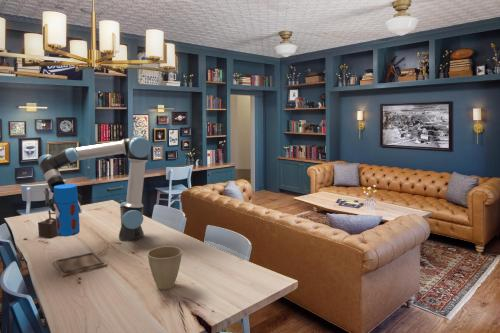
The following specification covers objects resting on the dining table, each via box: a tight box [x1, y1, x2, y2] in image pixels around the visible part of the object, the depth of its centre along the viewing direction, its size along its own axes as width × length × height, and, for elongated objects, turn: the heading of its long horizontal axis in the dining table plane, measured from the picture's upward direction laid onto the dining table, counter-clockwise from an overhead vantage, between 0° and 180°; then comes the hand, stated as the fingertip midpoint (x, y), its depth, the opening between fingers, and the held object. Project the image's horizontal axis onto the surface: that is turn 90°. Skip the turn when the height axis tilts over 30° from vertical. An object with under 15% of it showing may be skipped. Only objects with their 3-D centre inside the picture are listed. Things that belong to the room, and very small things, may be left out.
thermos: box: [53, 183, 81, 238], centre depth 192 cm, size 11×11×25 cm
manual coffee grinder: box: [37, 209, 59, 239], centre depth 242 cm, size 16×11×18 cm
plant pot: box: [147, 245, 183, 290], centre depth 166 cm, size 15×15×16 cm
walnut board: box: [52, 251, 108, 278], centre depth 192 cm, size 21×21×2 cm
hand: (69, 213), depth 191 cm, fingers closed on thermos, 11 cm apart
